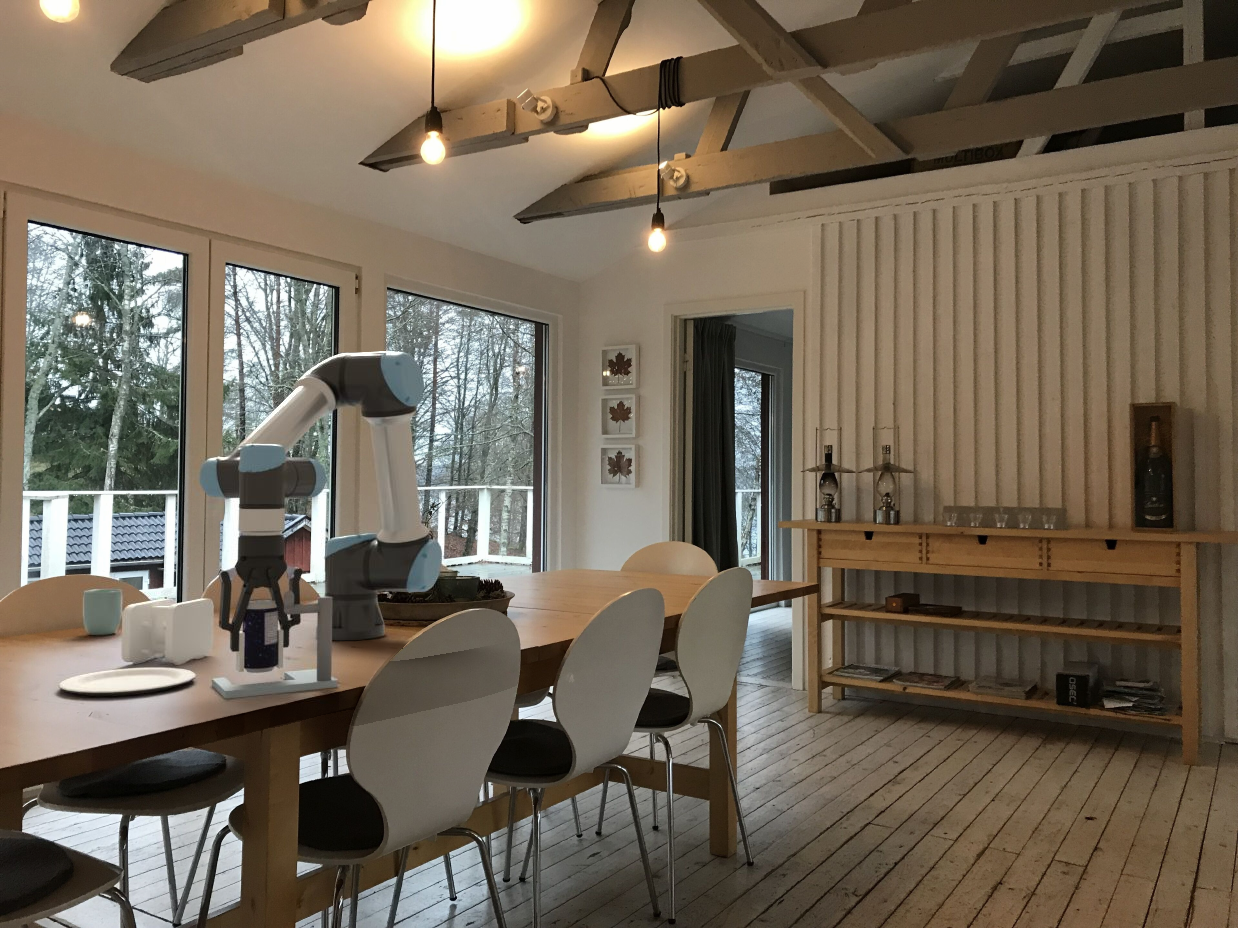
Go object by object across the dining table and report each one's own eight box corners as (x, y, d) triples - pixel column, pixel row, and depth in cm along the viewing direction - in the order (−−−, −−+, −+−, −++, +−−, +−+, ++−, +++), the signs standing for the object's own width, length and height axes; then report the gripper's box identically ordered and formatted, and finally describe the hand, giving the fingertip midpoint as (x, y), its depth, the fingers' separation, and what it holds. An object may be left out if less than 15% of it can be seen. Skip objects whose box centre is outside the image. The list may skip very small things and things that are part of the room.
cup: (109, 636, 218) (110, 592, 218) (75, 636, 218) (76, 592, 218) (127, 631, 226) (128, 588, 226) (94, 631, 226) (95, 588, 226)
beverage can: (268, 666, 170) (269, 597, 170) (282, 670, 166) (283, 600, 166) (236, 670, 166) (237, 600, 166) (250, 674, 162) (251, 603, 162)
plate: (103, 675, 175) (103, 665, 175) (216, 676, 175) (216, 667, 175) (29, 700, 155) (30, 689, 155) (158, 702, 154) (158, 691, 154)
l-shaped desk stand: (318, 675, 175) (319, 583, 175) (337, 686, 165) (338, 589, 165) (211, 685, 165) (213, 588, 166) (225, 698, 155) (227, 594, 155)
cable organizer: (170, 668, 181) (171, 606, 181) (117, 666, 182) (119, 605, 182) (214, 655, 196) (215, 597, 196) (165, 653, 197) (166, 596, 197)
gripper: (310, 531, 175) (309, 660, 174) (199, 533, 165) (197, 670, 164) (322, 533, 168) (320, 666, 168) (207, 535, 158) (205, 677, 158)
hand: (259, 668), depth 166 cm, fingers closed on beverage can, 6 cm apart
